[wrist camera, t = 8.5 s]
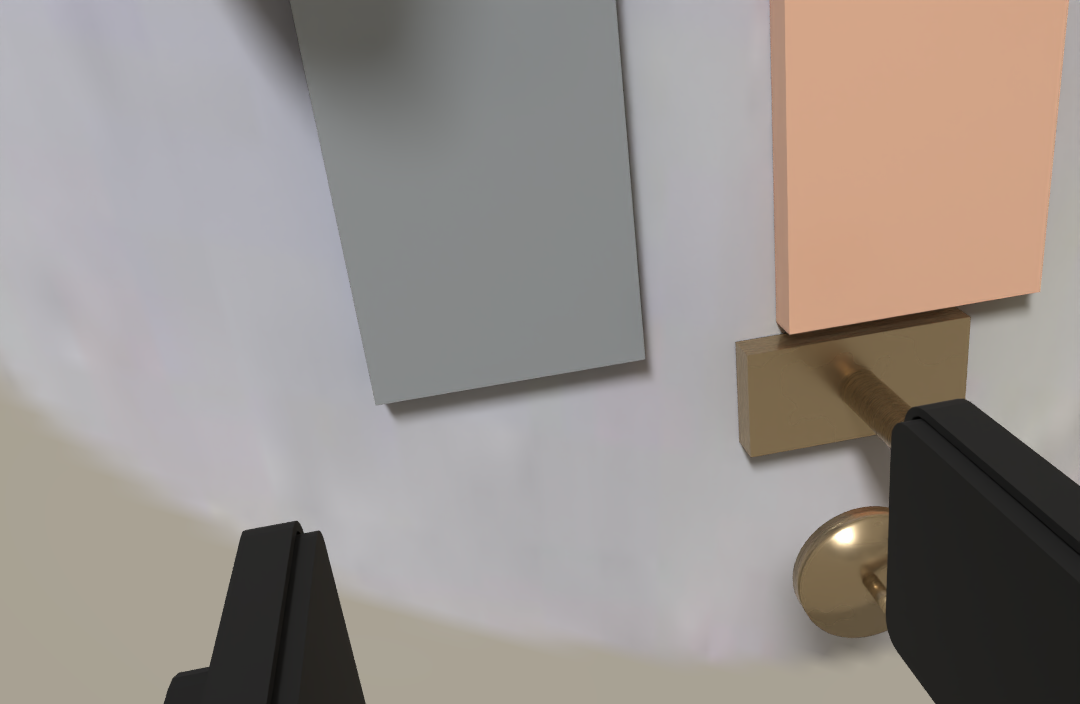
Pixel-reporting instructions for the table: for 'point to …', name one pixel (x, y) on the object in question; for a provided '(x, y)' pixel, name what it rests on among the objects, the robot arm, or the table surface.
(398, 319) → the slate mat
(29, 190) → the table surface
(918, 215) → the terracotta mat
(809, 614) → the balance
